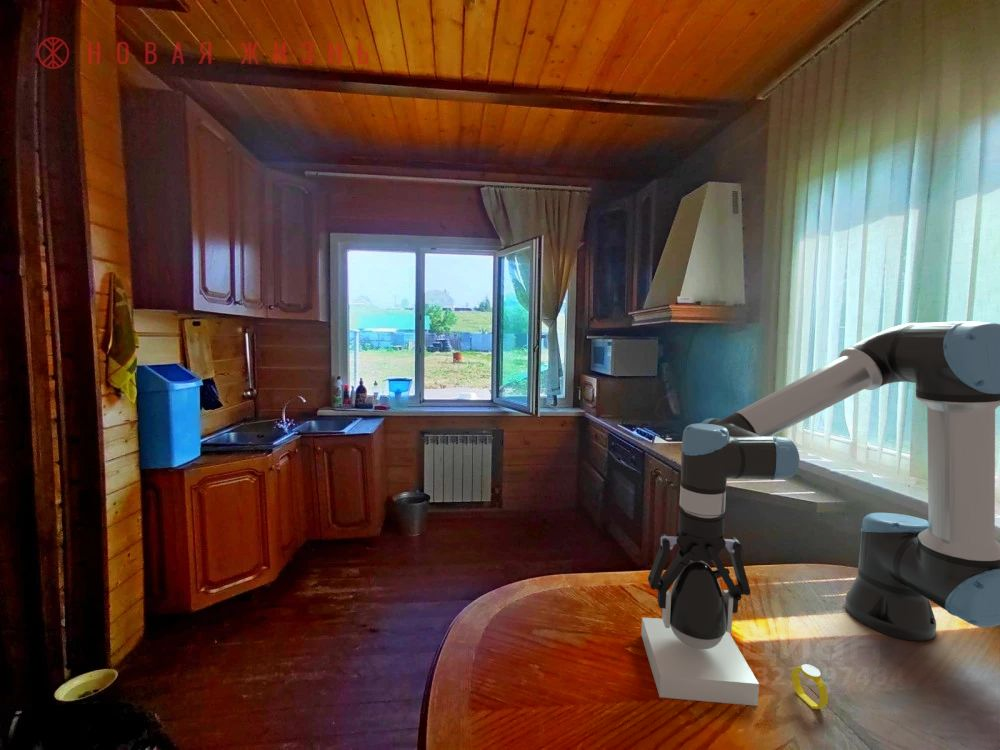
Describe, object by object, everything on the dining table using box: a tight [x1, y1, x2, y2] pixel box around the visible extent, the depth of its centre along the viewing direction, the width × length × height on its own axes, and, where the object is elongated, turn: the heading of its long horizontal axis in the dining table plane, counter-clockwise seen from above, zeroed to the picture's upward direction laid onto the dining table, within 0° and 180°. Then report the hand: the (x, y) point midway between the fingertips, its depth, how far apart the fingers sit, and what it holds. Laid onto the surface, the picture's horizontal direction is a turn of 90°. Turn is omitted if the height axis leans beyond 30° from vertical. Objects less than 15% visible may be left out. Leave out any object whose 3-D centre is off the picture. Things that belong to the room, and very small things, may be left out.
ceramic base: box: [640, 617, 760, 707], centre depth 86 cm, size 16×16×4 cm
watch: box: [790, 663, 829, 710], centre depth 78 cm, size 6×3×6 cm, turn 12°
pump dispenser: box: [670, 560, 731, 649], centre depth 85 cm, size 10×10×15 cm
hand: (695, 625), depth 85 cm, fingers closed on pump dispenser, 10 cm apart
